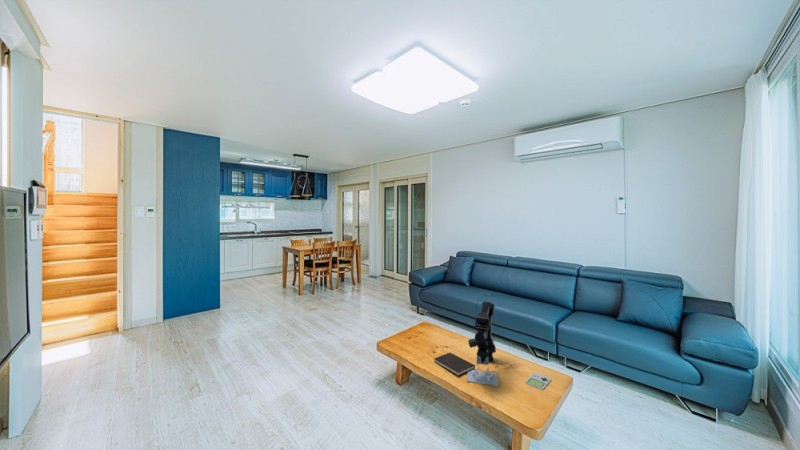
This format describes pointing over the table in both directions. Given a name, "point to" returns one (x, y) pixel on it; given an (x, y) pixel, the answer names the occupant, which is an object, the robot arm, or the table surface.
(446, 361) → the hardcover book
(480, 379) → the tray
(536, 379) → the handheld gaming console
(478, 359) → the drive
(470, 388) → the table surface
